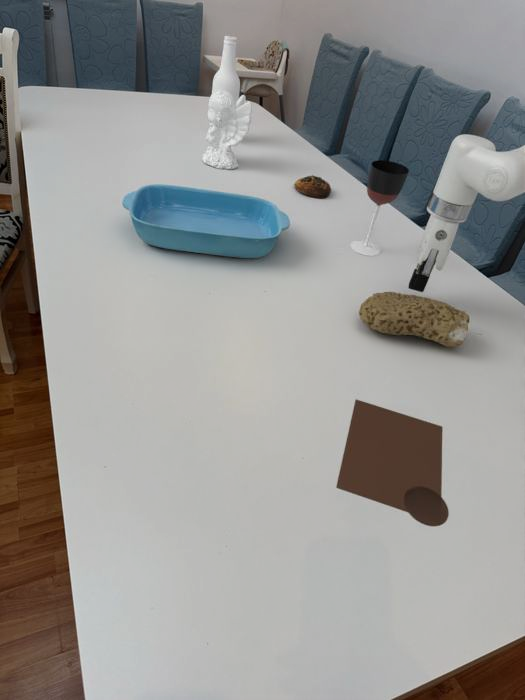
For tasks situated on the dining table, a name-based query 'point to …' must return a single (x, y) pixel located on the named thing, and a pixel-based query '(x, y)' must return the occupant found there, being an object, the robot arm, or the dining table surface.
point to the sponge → (415, 317)
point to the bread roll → (313, 186)
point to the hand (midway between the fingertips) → (415, 288)
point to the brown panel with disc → (395, 462)
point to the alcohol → (227, 71)
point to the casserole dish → (205, 220)
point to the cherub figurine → (226, 128)
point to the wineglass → (381, 195)
